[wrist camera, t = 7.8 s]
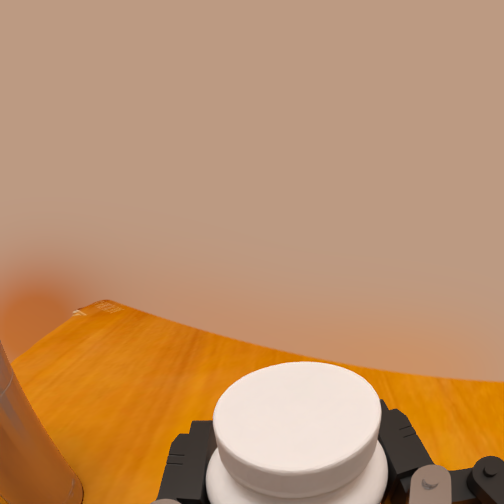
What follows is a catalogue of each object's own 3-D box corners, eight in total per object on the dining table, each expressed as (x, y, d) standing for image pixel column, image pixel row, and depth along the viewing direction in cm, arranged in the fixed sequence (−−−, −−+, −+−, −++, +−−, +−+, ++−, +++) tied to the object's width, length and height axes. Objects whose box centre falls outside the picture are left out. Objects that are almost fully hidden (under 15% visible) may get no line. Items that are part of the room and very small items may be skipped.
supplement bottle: (293, 484, 12) (288, 330, 10) (378, 528, 8) (442, 379, 6) (212, 541, 9) (142, 404, 7) (298, 606, 5) (309, 551, 3)
